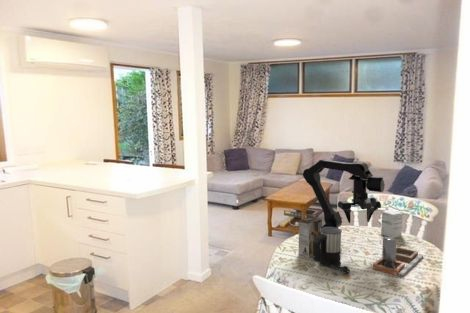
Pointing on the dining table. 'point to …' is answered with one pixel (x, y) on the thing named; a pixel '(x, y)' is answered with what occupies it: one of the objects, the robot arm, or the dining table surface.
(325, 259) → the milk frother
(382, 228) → the supplement box
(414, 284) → the dining table surface
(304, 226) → the coffee box
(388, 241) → the grey peg
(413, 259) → the socket rail
